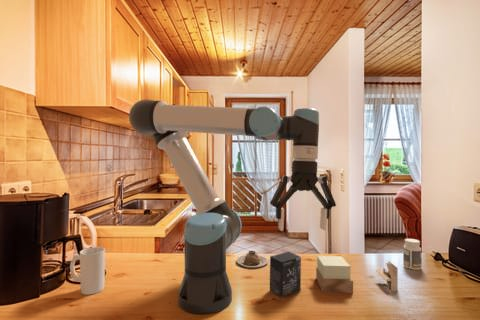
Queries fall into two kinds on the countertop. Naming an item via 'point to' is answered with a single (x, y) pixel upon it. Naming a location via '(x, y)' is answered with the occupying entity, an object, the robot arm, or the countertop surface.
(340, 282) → the tower base
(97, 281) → the mug
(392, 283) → the architectural model
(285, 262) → the box
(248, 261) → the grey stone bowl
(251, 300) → the countertop surface
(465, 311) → the countertop surface
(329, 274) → the tower top
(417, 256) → the pill bottle
